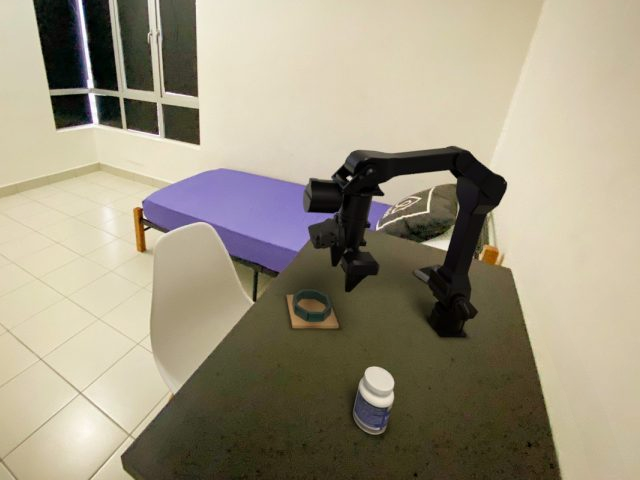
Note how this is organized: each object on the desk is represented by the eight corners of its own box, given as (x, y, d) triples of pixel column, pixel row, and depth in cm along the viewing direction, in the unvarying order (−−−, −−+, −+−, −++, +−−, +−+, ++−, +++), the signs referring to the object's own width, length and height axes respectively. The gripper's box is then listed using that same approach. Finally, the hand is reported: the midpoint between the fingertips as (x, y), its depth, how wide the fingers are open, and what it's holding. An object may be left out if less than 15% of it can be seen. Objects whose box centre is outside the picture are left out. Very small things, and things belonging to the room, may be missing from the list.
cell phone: (456, 278, 100) (457, 274, 99) (429, 285, 96) (430, 281, 95) (438, 267, 105) (439, 263, 105) (412, 274, 101) (413, 270, 101)
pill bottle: (389, 440, 55) (401, 397, 52) (353, 431, 56) (363, 389, 53) (383, 407, 60) (394, 366, 57) (351, 400, 61) (359, 360, 58)
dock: (327, 298, 89) (328, 287, 87) (338, 328, 78) (340, 316, 77) (286, 297, 88) (287, 286, 87) (292, 328, 78) (293, 316, 77)
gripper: (304, 194, 75) (295, 254, 80) (328, 234, 58) (314, 306, 63) (352, 197, 76) (340, 255, 82) (389, 236, 59) (370, 307, 64)
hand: (340, 278), depth 73 cm, fingers open, 9 cm apart
